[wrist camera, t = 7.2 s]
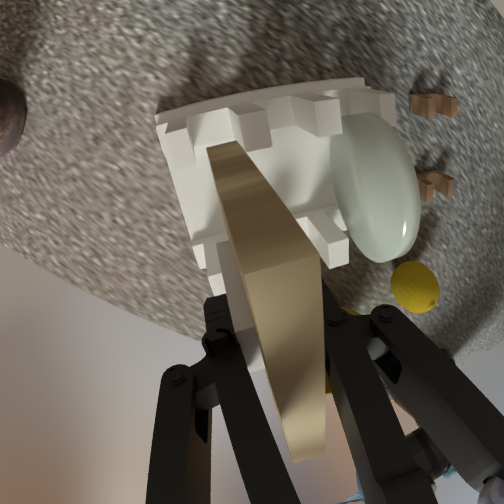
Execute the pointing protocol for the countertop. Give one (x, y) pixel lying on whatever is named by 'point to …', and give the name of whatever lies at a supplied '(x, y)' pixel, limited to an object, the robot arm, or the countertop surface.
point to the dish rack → (268, 157)
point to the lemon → (415, 287)
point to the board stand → (426, 108)
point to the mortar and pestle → (10, 116)
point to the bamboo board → (277, 294)
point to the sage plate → (375, 187)
